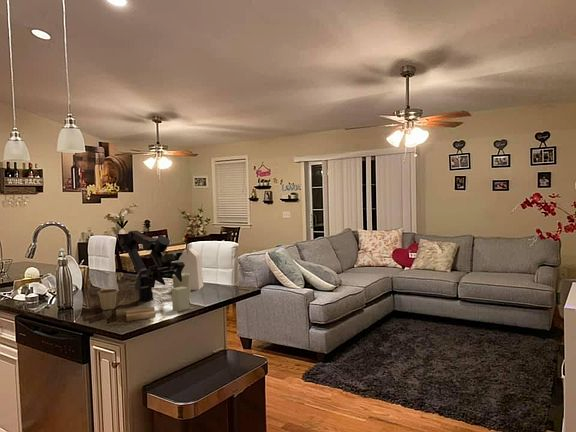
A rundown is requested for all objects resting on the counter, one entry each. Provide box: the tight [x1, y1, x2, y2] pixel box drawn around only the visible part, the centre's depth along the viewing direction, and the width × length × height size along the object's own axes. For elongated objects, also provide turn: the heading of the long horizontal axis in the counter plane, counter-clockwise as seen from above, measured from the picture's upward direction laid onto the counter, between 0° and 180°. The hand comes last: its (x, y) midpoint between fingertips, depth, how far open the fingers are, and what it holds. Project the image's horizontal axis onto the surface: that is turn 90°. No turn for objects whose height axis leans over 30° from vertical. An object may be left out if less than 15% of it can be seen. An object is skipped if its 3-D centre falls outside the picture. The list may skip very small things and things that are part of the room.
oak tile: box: [125, 306, 157, 322], centre depth 195 cm, size 12×12×2 cm
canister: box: [171, 287, 190, 312], centre depth 204 cm, size 6×6×10 cm
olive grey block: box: [172, 273, 192, 297], centre depth 235 cm, size 9×9×12 cm
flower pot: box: [96, 288, 119, 311], centre depth 212 cm, size 9×9×9 cm
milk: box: [178, 243, 204, 291], centre depth 256 cm, size 12×12×26 cm
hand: (173, 282), depth 208 cm, fingers open, 9 cm apart
